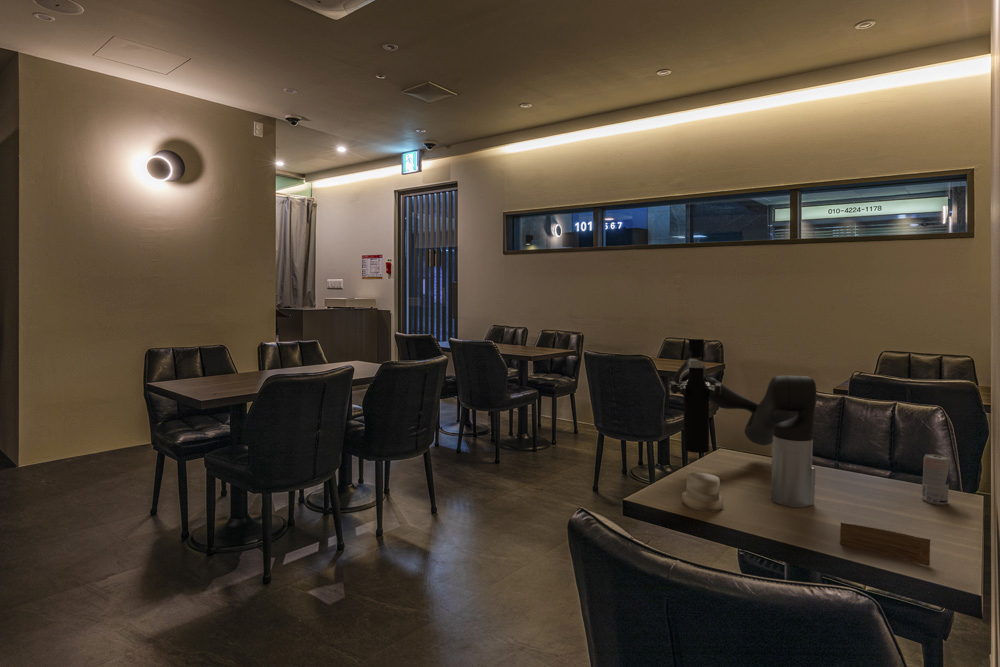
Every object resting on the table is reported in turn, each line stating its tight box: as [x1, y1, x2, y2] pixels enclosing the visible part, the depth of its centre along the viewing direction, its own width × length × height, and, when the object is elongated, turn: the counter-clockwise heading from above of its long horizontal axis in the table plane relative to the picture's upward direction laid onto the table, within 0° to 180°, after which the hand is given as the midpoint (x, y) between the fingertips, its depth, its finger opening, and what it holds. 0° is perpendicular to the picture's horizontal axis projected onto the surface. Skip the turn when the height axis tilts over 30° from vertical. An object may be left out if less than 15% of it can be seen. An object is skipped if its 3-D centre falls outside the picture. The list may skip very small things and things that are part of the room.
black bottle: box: [683, 338, 710, 454], centre depth 148 cm, size 6×6×30 cm
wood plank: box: [839, 522, 931, 567], centre depth 115 cm, size 15×2×5 cm, turn 54°
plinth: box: [681, 472, 724, 512], centre depth 143 cm, size 10×10×7 cm
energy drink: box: [921, 453, 951, 506], centre depth 145 cm, size 5×5×12 cm
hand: (697, 392), depth 145 cm, fingers closed on black bottle, 6 cm apart
